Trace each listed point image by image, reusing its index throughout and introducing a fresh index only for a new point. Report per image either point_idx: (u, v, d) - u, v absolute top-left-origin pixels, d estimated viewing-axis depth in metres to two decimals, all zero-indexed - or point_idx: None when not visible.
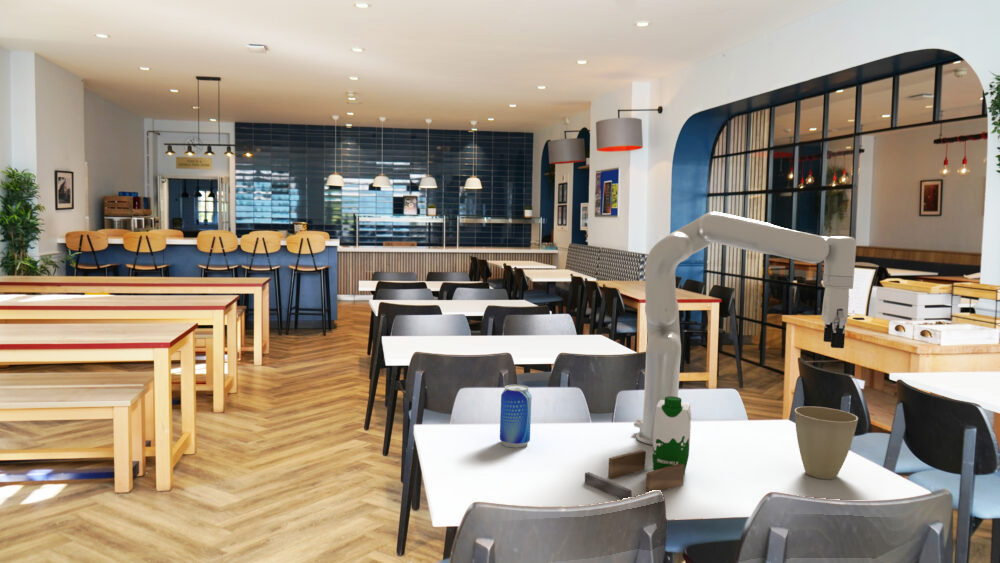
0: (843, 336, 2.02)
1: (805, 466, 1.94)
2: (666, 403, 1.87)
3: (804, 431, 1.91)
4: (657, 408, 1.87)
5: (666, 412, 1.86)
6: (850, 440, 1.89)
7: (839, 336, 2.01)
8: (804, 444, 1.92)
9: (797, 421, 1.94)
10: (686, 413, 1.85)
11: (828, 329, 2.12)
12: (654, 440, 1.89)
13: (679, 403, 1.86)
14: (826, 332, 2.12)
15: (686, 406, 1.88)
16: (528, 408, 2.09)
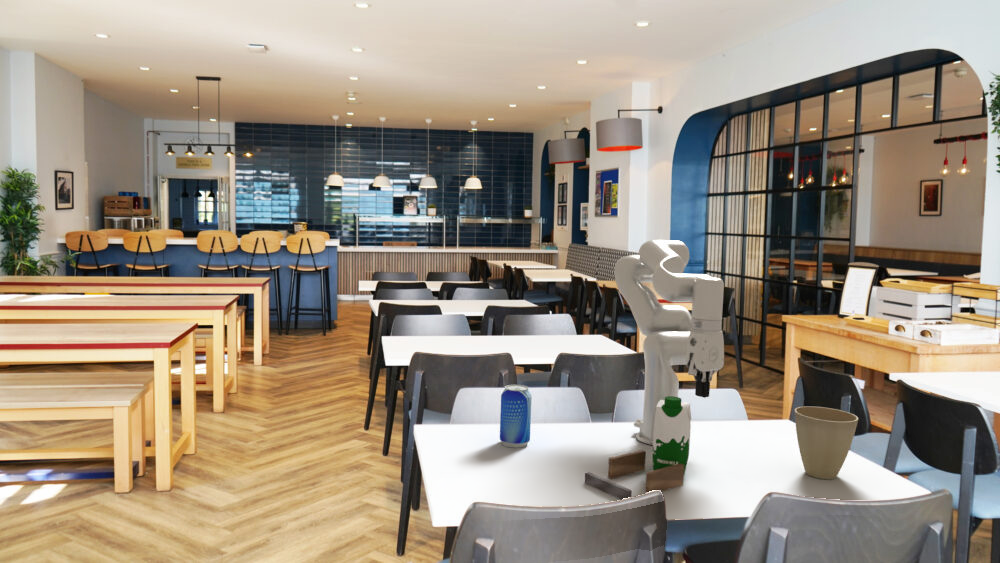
0: None
1: (805, 466, 1.94)
2: (666, 403, 1.87)
3: (804, 431, 1.91)
4: (657, 408, 1.87)
5: (666, 412, 1.86)
6: (850, 440, 1.89)
7: None
8: (804, 444, 1.92)
9: (797, 421, 1.94)
10: (686, 413, 1.85)
11: None
12: (654, 440, 1.89)
13: (679, 403, 1.86)
14: None
15: (686, 406, 1.88)
16: (528, 408, 2.09)
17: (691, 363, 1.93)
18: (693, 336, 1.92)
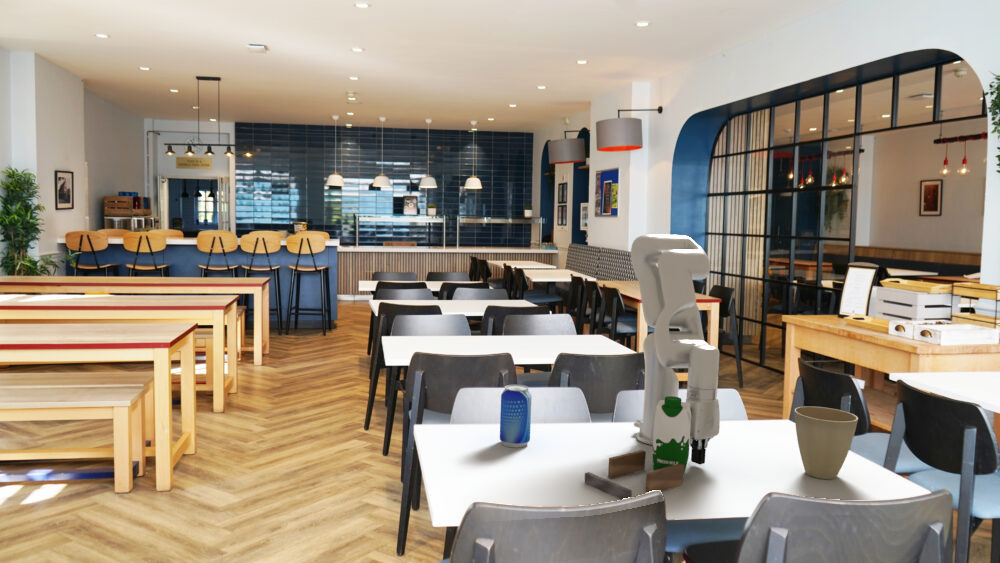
0: None
1: (805, 466, 1.94)
2: (666, 403, 1.87)
3: (804, 431, 1.91)
4: (657, 408, 1.87)
5: (666, 412, 1.86)
6: (850, 440, 1.89)
7: None
8: (804, 444, 1.92)
9: (797, 421, 1.94)
10: (686, 413, 1.85)
11: None
12: (654, 440, 1.89)
13: (679, 403, 1.86)
14: None
15: (686, 406, 1.88)
16: (528, 408, 2.09)
17: None
18: None
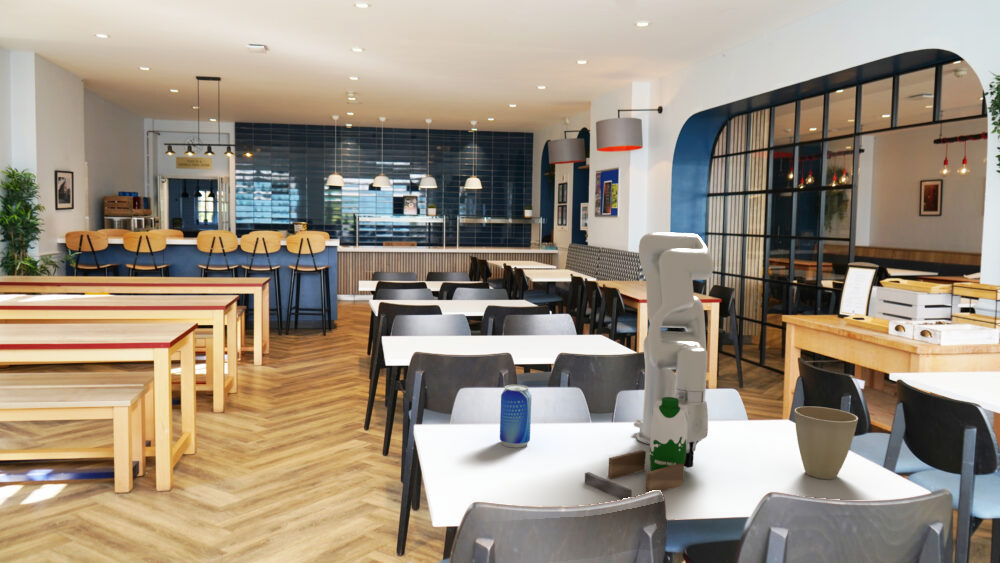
0: None
1: (805, 466, 1.94)
2: (663, 404, 1.86)
3: (804, 431, 1.91)
4: (654, 409, 1.86)
5: (663, 413, 1.85)
6: (850, 440, 1.89)
7: None
8: (804, 444, 1.92)
9: (797, 421, 1.94)
10: (684, 414, 1.84)
11: None
12: (651, 441, 1.88)
13: (676, 404, 1.85)
14: None
15: (683, 407, 1.87)
16: (528, 408, 2.09)
17: None
18: None
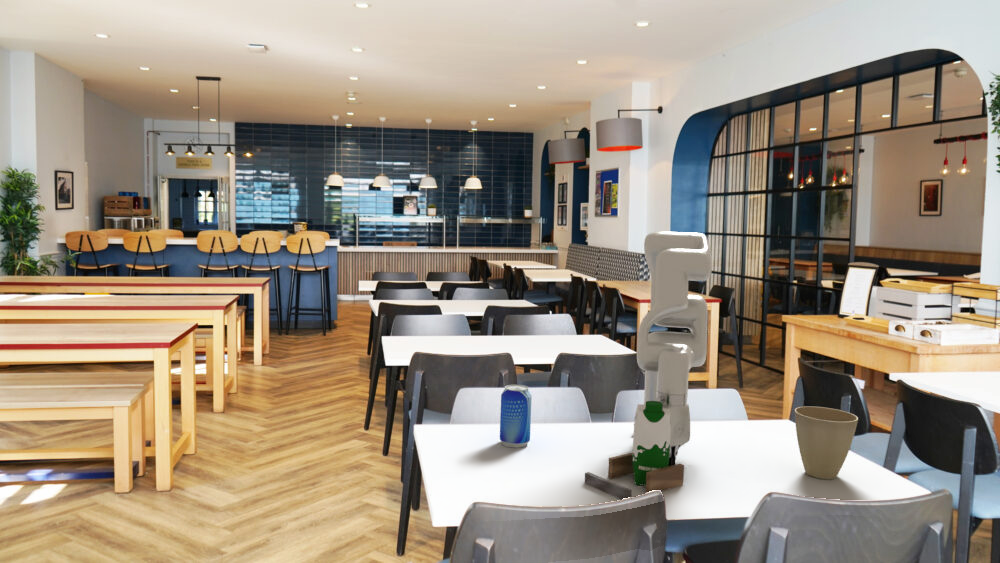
0: None
1: (805, 466, 1.94)
2: (648, 408, 1.81)
3: (804, 431, 1.91)
4: (639, 414, 1.81)
5: (648, 417, 1.81)
6: (850, 440, 1.89)
7: None
8: (804, 444, 1.92)
9: (797, 421, 1.94)
10: (669, 418, 1.80)
11: None
12: (635, 447, 1.83)
13: (661, 408, 1.81)
14: None
15: (667, 410, 1.83)
16: (528, 408, 2.09)
17: None
18: None
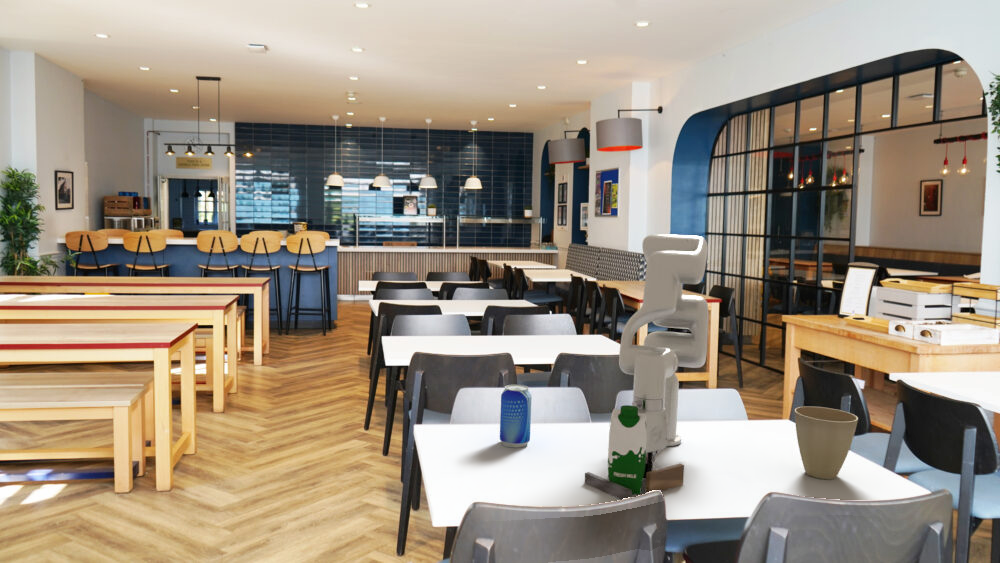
0: None
1: (805, 466, 1.94)
2: (623, 413, 1.76)
3: (804, 431, 1.91)
4: (613, 418, 1.76)
5: (623, 422, 1.76)
6: (850, 440, 1.89)
7: None
8: (804, 444, 1.92)
9: (797, 421, 1.94)
10: (644, 423, 1.75)
11: None
12: (610, 453, 1.78)
13: (636, 412, 1.76)
14: None
15: (642, 415, 1.78)
16: (528, 408, 2.09)
17: None
18: None
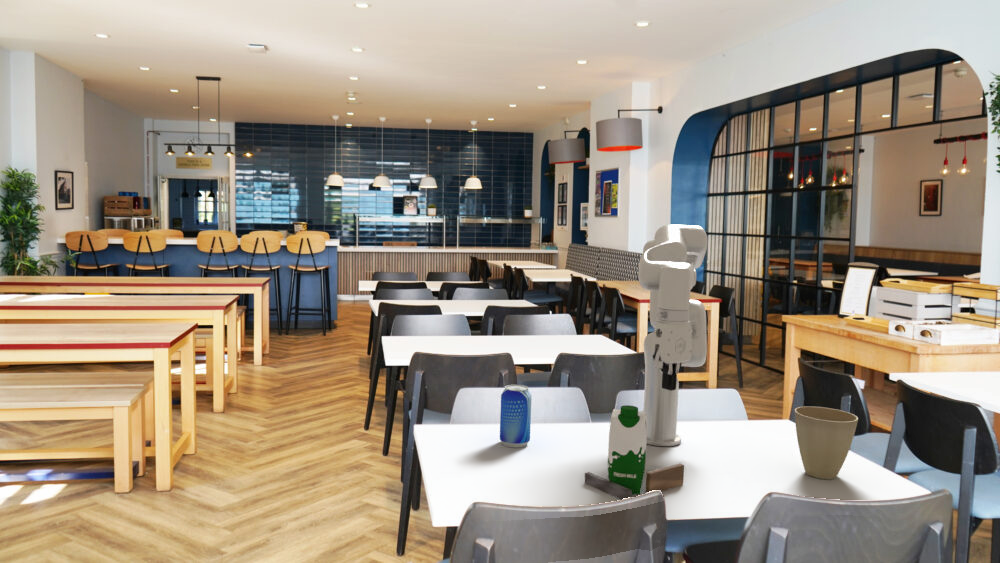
0: None
1: (805, 466, 1.94)
2: (623, 413, 1.76)
3: (804, 431, 1.91)
4: (613, 419, 1.76)
5: (623, 422, 1.76)
6: (850, 440, 1.89)
7: None
8: (804, 444, 1.92)
9: (797, 421, 1.94)
10: (644, 423, 1.75)
11: None
12: (610, 453, 1.78)
13: (636, 412, 1.76)
14: None
15: (642, 415, 1.78)
16: (528, 408, 2.09)
17: (657, 355, 1.85)
18: (659, 327, 1.84)
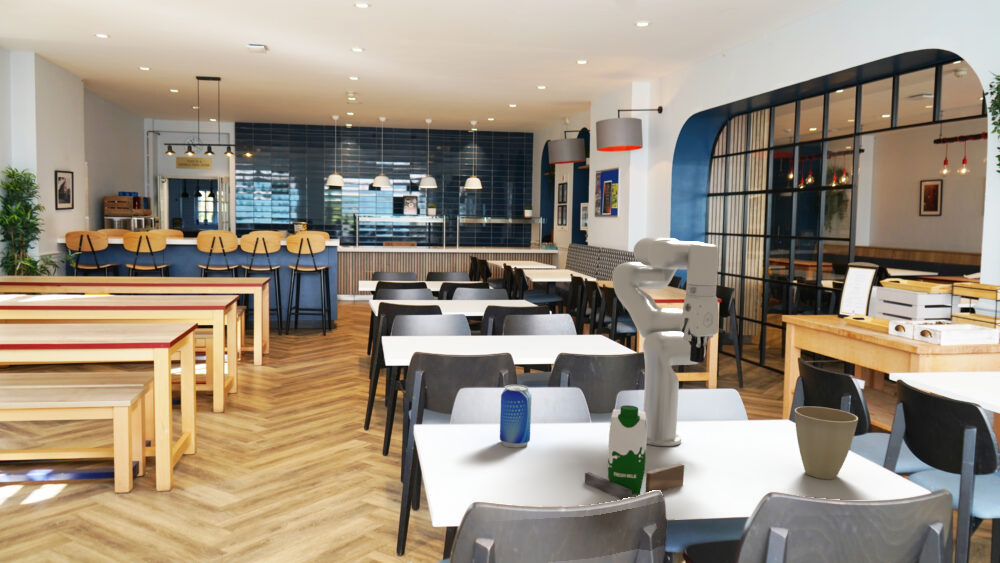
0: None
1: (805, 466, 1.94)
2: (623, 413, 1.76)
3: (804, 431, 1.91)
4: (613, 419, 1.76)
5: (623, 422, 1.76)
6: (850, 440, 1.89)
7: None
8: (804, 444, 1.92)
9: (797, 421, 1.94)
10: (644, 423, 1.75)
11: None
12: (610, 453, 1.78)
13: (636, 412, 1.76)
14: None
15: (642, 415, 1.78)
16: (528, 408, 2.09)
17: (686, 328, 1.95)
18: (688, 302, 1.94)
